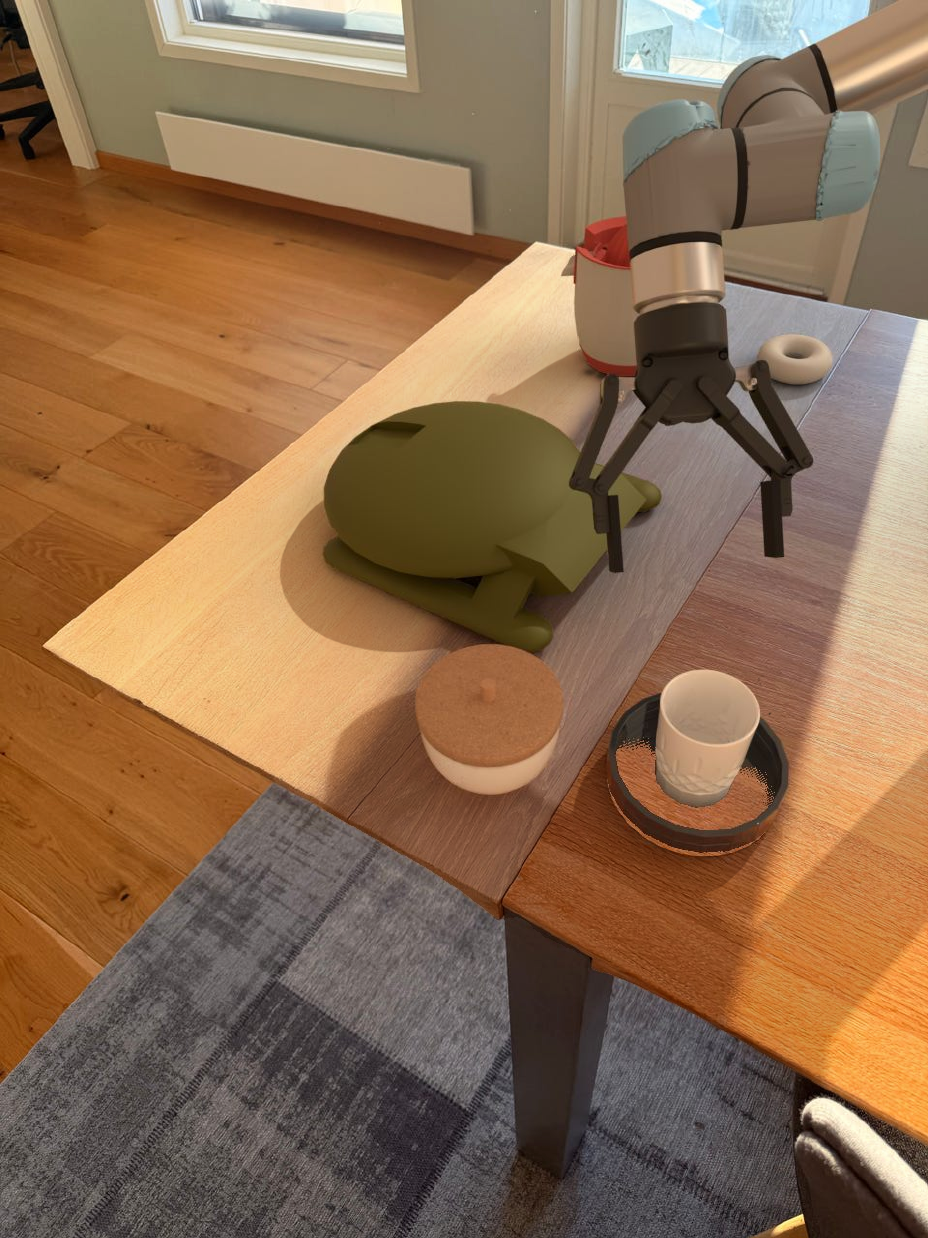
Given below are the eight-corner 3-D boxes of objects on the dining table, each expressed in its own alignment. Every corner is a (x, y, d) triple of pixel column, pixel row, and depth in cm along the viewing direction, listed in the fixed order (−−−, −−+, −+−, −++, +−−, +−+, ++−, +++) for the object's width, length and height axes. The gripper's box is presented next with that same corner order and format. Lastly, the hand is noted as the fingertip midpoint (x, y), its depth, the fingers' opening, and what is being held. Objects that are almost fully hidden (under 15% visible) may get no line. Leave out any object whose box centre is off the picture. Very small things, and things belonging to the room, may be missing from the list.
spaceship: (667, 499, 108) (678, 429, 101) (537, 667, 91) (538, 598, 84) (428, 415, 122) (422, 350, 115) (276, 547, 105) (258, 480, 98)
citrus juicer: (571, 323, 138) (577, 186, 123) (687, 336, 133) (707, 197, 119) (546, 377, 127) (549, 235, 113) (670, 393, 123) (689, 248, 109)
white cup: (690, 830, 77) (708, 763, 70) (629, 766, 81) (640, 697, 74) (757, 785, 80) (781, 715, 72) (694, 726, 84) (711, 655, 77)
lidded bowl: (522, 842, 77) (522, 769, 69) (397, 784, 82) (383, 709, 74) (582, 735, 85) (588, 658, 77) (464, 688, 89) (459, 610, 81)
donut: (744, 379, 125) (817, 396, 121) (748, 356, 123) (823, 373, 119) (768, 345, 131) (838, 360, 127) (772, 323, 128) (844, 338, 124)
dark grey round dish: (783, 729, 84) (791, 705, 82) (777, 875, 74) (786, 853, 72) (619, 700, 87) (622, 676, 85) (593, 836, 77) (595, 814, 75)
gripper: (810, 306, 79) (822, 549, 81) (525, 332, 79) (545, 575, 81) (847, 284, 72) (859, 552, 74) (533, 313, 71) (555, 580, 74)
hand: (695, 564), depth 78 cm, fingers open, 13 cm apart
